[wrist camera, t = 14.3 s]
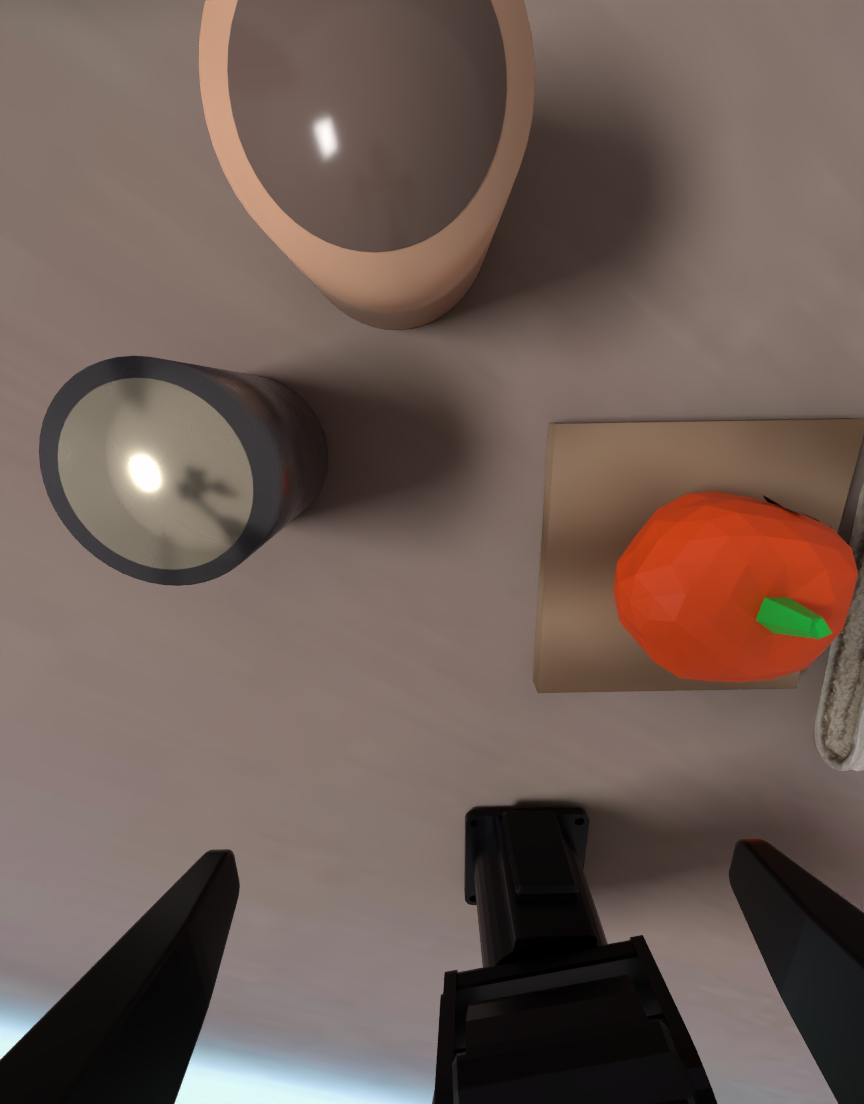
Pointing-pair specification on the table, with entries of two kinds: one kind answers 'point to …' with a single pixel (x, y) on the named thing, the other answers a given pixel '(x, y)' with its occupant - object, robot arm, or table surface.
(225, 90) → the terracotta cup
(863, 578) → the washcloth
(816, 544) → the pumpkin
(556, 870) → the robot arm
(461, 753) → the table surface
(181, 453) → the black metal can
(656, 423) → the walnut board
